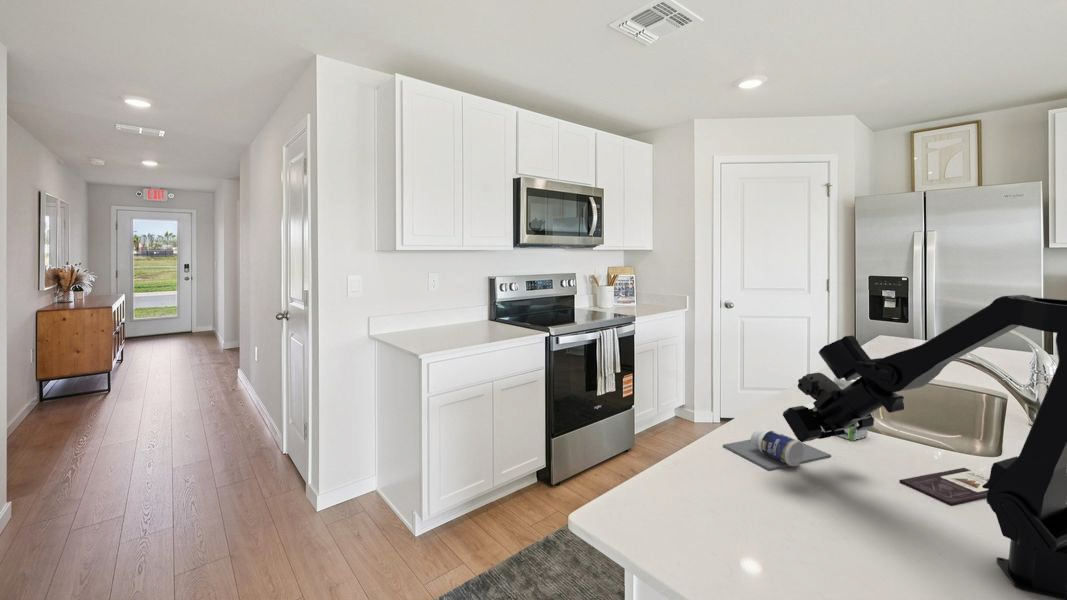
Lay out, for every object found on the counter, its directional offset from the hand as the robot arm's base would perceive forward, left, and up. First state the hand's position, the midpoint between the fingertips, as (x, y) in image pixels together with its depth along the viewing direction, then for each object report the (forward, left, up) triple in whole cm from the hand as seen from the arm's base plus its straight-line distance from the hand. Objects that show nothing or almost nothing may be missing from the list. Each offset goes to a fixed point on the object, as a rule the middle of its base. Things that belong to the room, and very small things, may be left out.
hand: (800, 436), depth 98 cm
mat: (+7, +4, -7) cm, 10 cm away
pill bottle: (-1, 0, -3) cm, 4 cm away
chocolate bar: (+4, -27, -7) cm, 28 cm away
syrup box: (+25, -12, -7) cm, 29 cm away
